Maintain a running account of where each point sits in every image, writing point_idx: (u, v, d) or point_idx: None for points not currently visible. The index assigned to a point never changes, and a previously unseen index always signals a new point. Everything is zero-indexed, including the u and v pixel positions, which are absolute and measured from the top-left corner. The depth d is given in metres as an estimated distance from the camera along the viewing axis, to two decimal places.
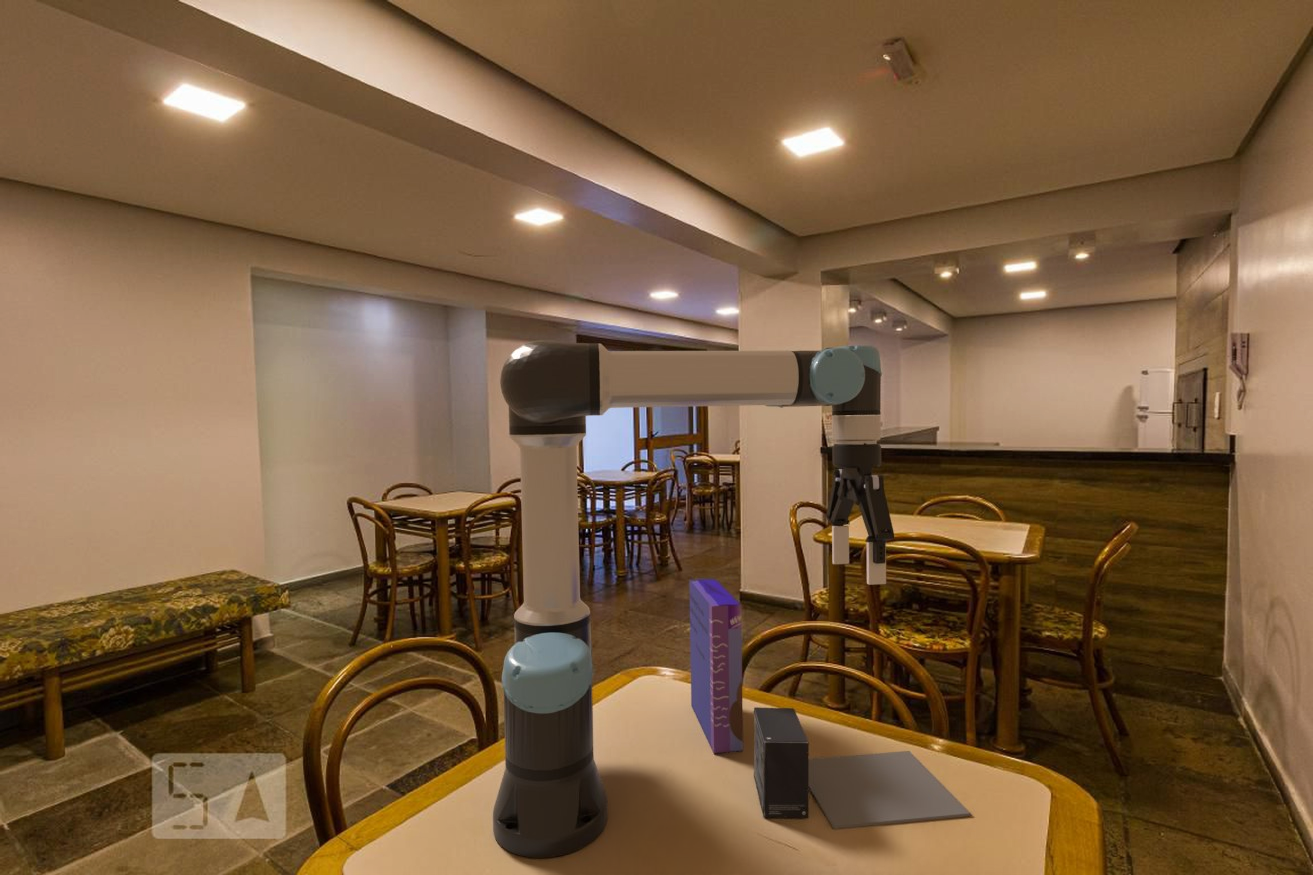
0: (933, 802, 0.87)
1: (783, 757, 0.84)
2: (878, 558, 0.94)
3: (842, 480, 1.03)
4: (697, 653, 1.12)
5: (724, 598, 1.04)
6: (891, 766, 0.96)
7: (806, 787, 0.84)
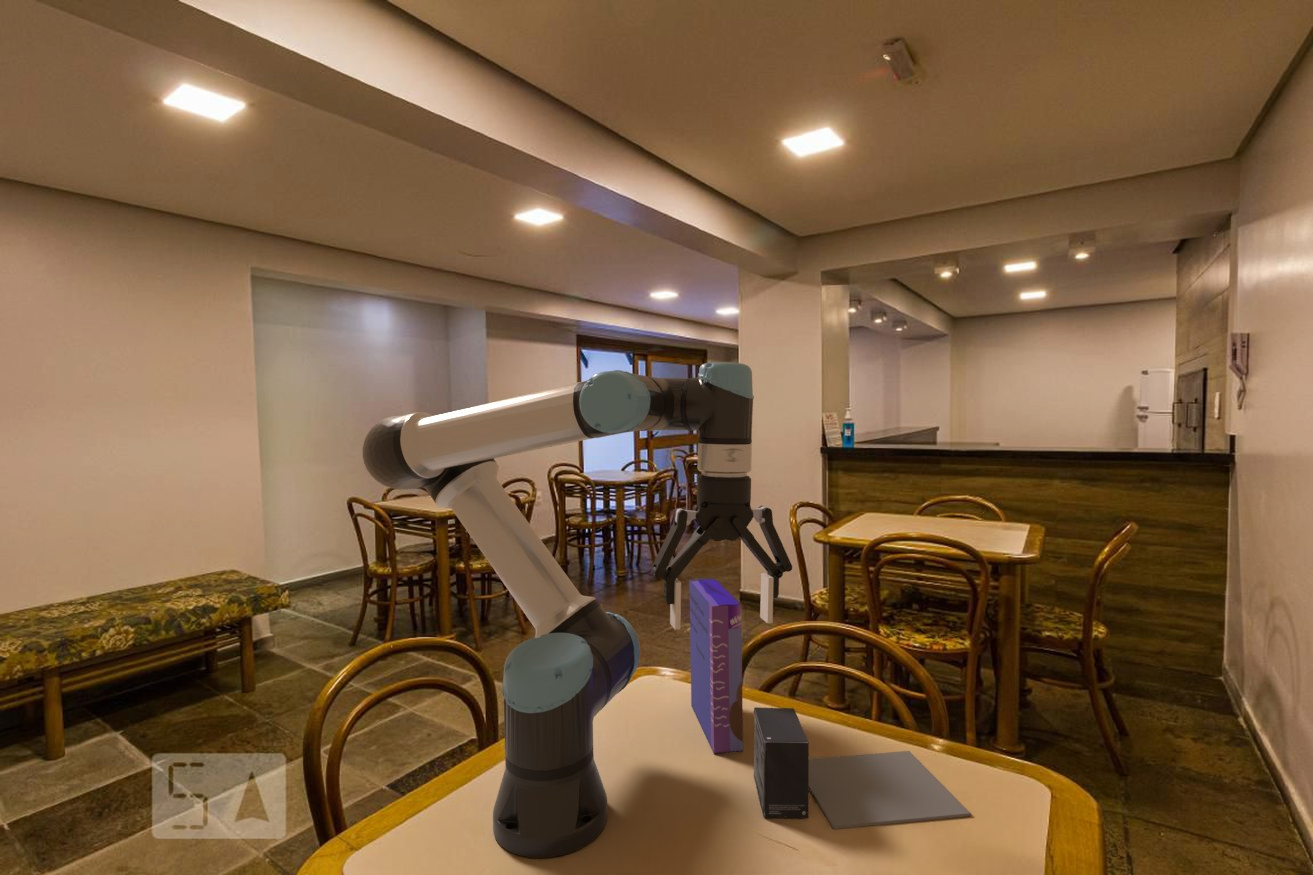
0: (933, 802, 0.87)
1: (783, 757, 0.84)
2: (664, 596, 0.88)
3: None
4: (697, 653, 1.12)
5: (724, 598, 1.04)
6: (891, 766, 0.96)
7: (806, 787, 0.84)
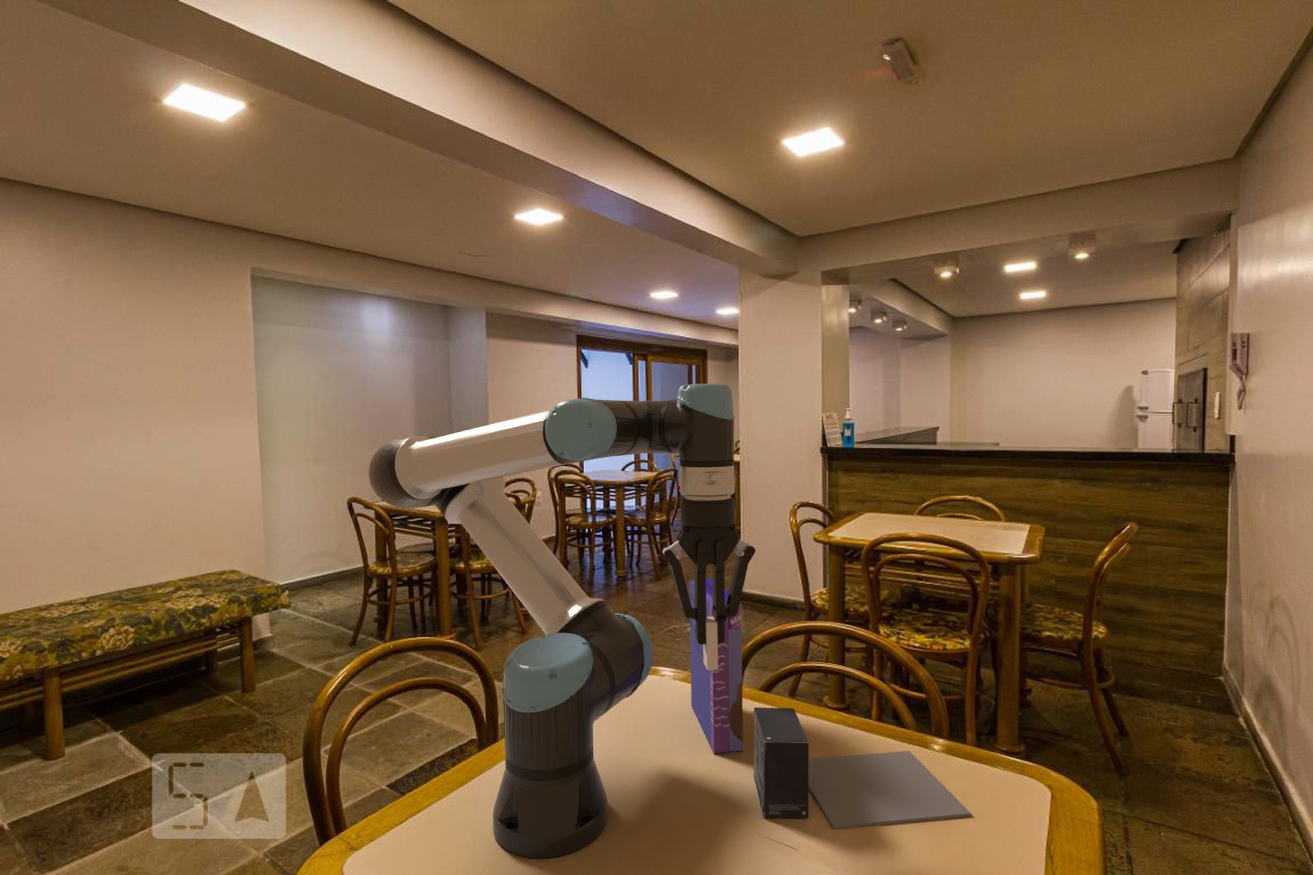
0: (933, 802, 0.87)
1: (783, 757, 0.84)
2: (696, 636, 0.88)
3: None
4: (697, 653, 1.12)
5: None
6: (891, 766, 0.96)
7: (806, 787, 0.84)
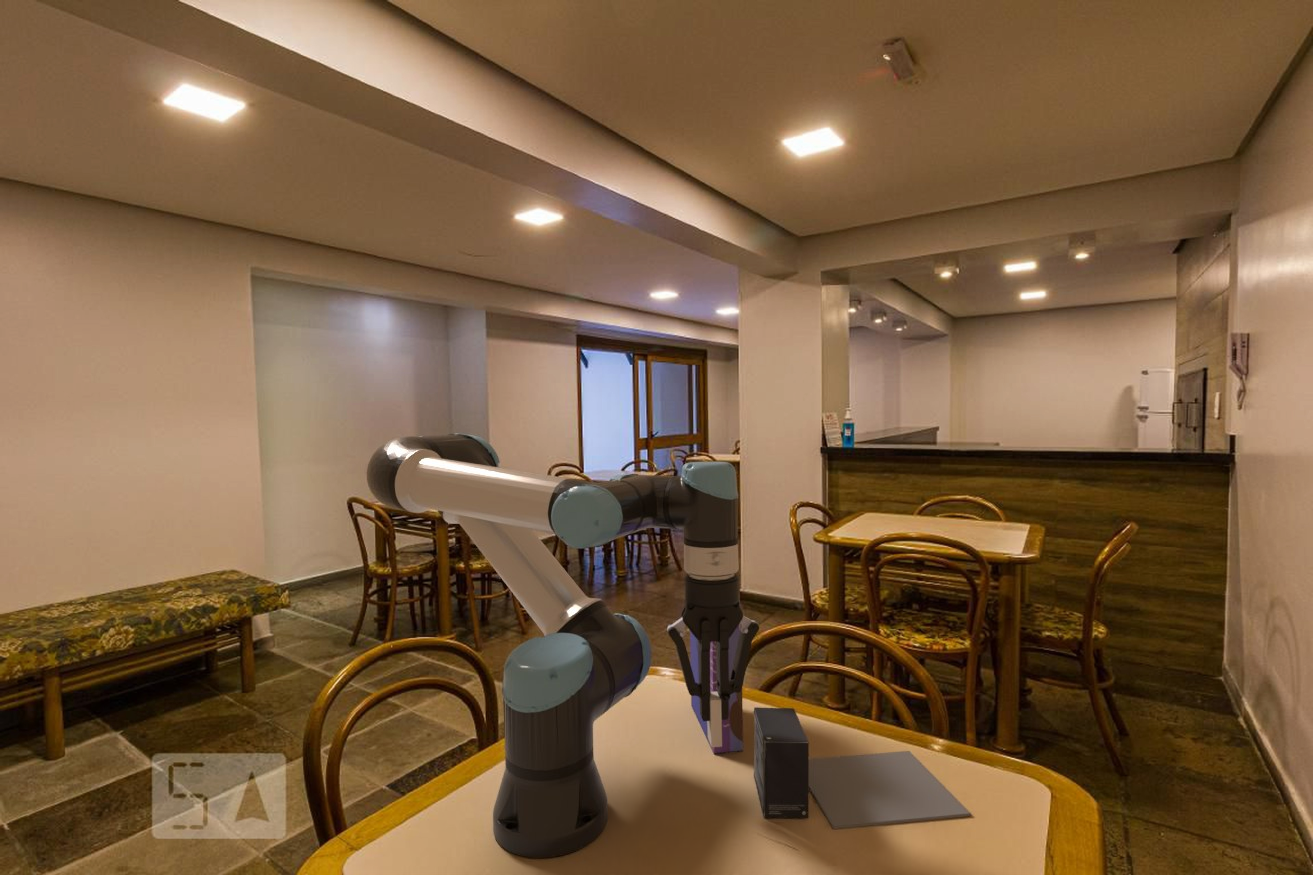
0: (933, 802, 0.87)
1: (783, 757, 0.84)
2: (700, 711, 0.88)
3: None
4: (697, 653, 1.12)
5: None
6: (891, 766, 0.96)
7: (806, 787, 0.84)
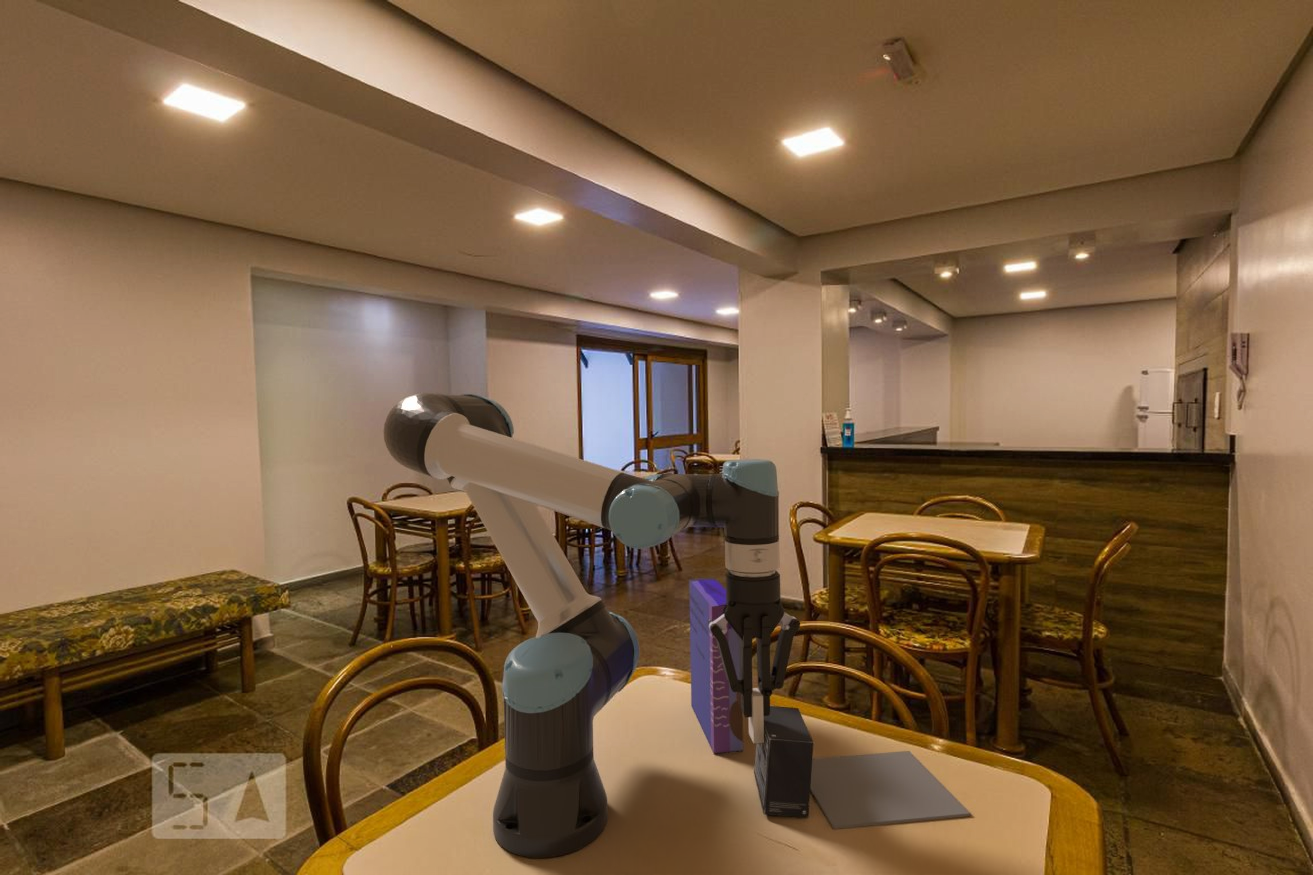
0: (933, 802, 0.87)
1: (787, 755, 0.84)
2: (742, 708, 0.89)
3: None
4: (697, 653, 1.12)
5: (724, 598, 1.04)
6: (891, 766, 0.96)
7: (808, 786, 0.84)
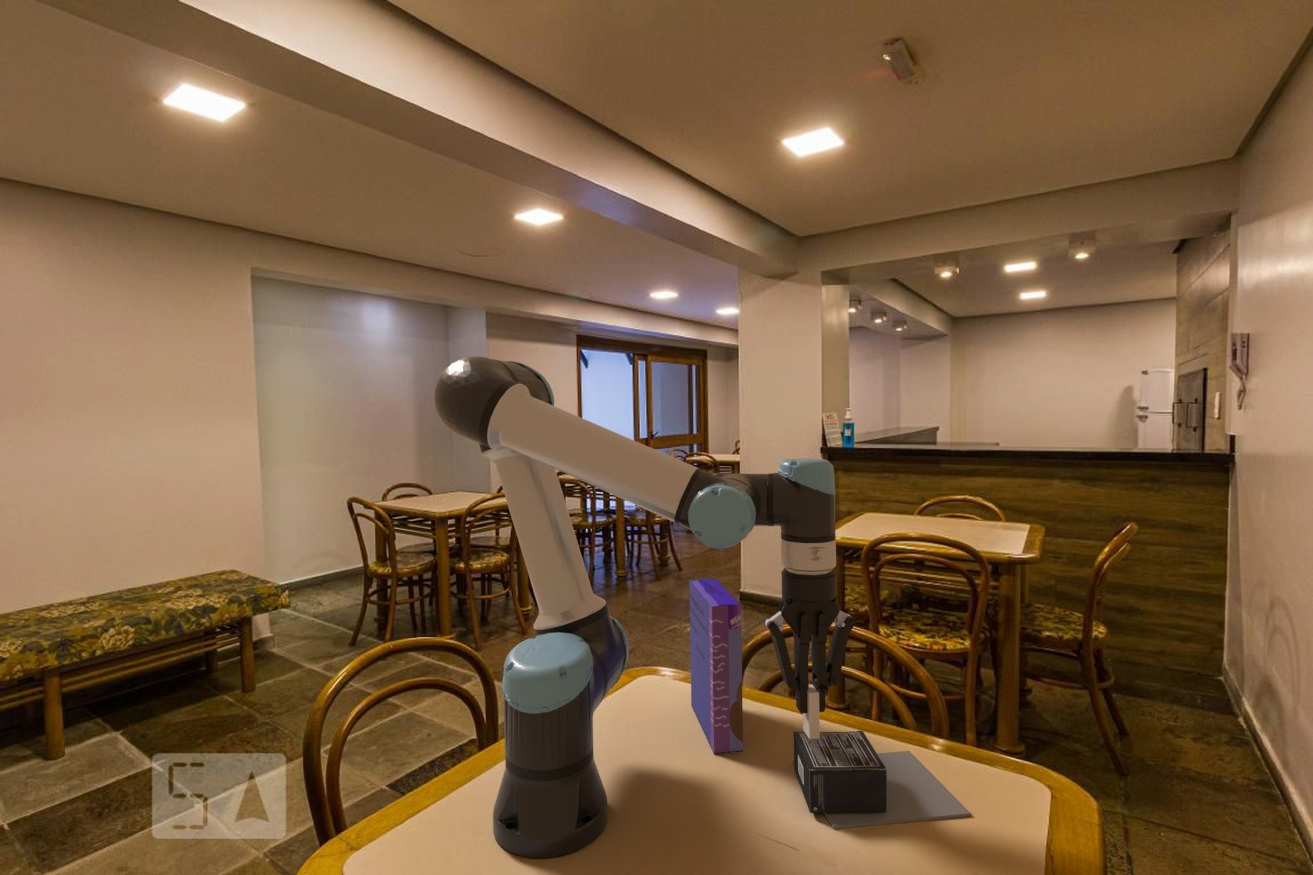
0: (933, 802, 0.87)
1: (871, 787, 0.84)
2: (797, 704, 0.90)
3: None
4: (697, 653, 1.12)
5: (724, 598, 1.04)
6: (891, 766, 0.96)
7: (841, 810, 0.84)
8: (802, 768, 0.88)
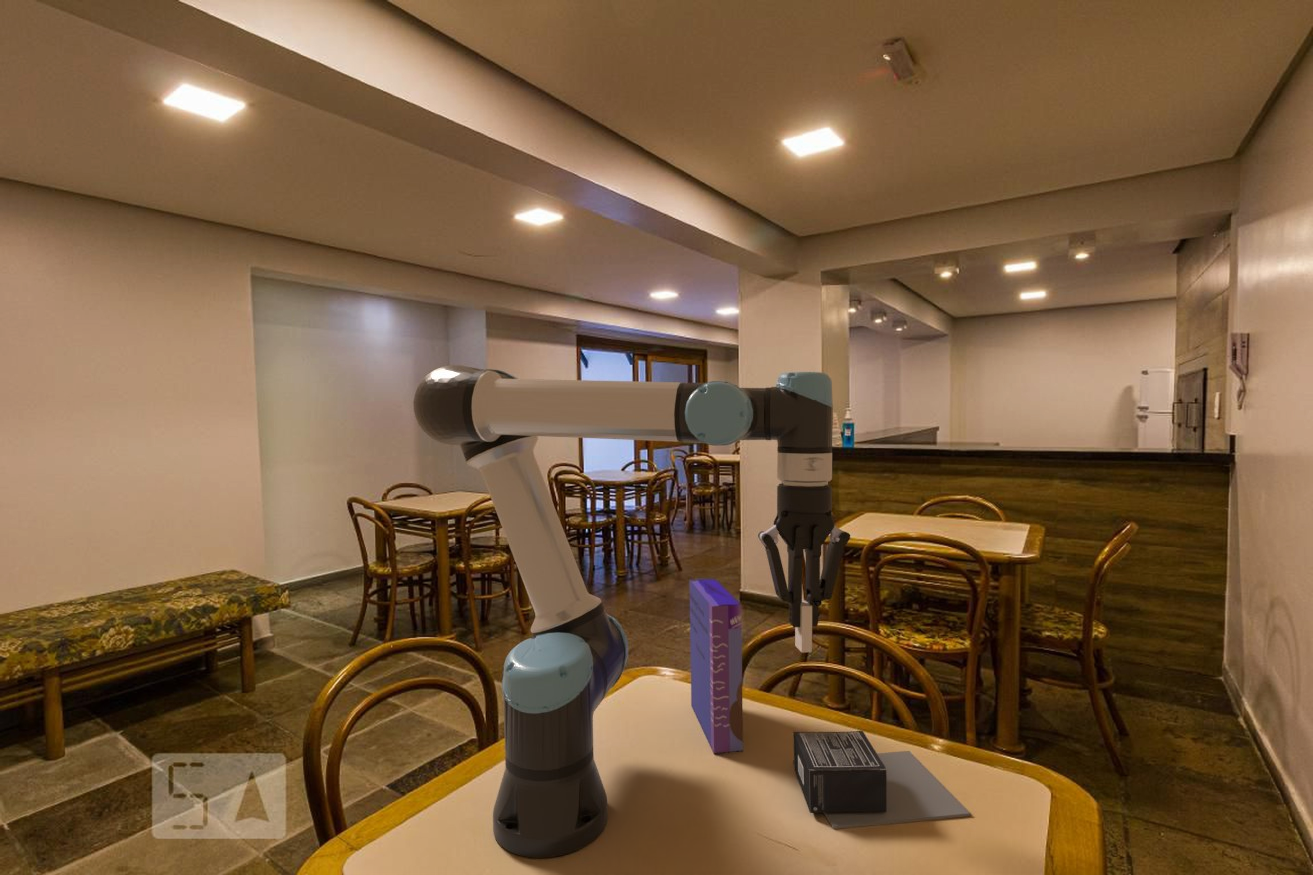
0: (933, 802, 0.87)
1: (871, 787, 0.84)
2: (789, 619, 0.90)
3: None
4: (697, 653, 1.12)
5: (724, 598, 1.04)
6: (891, 766, 0.96)
7: (841, 810, 0.84)
8: (802, 768, 0.88)
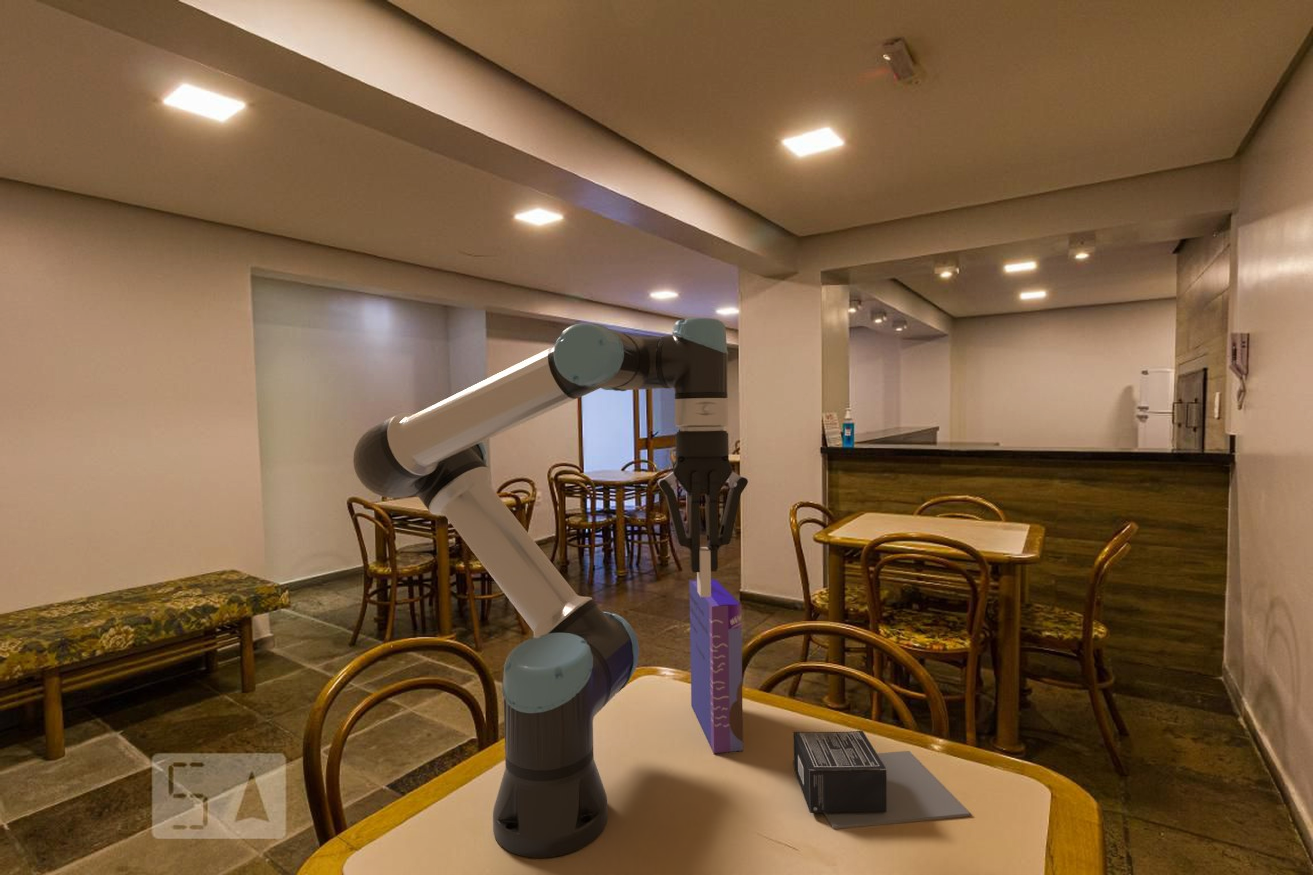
0: (933, 802, 0.87)
1: (871, 787, 0.84)
2: (690, 565, 0.91)
3: None
4: (697, 653, 1.12)
5: (724, 598, 1.04)
6: (891, 766, 0.96)
7: (841, 810, 0.84)
8: (802, 768, 0.88)
